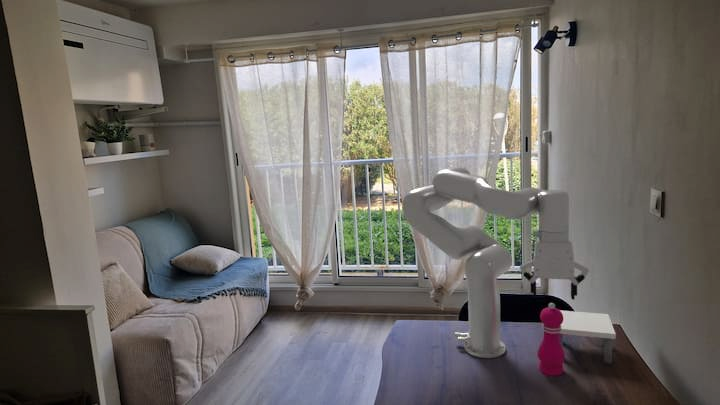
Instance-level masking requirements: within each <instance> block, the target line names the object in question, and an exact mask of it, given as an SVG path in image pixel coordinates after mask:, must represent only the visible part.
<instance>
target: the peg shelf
mask: <svg viewBox="0 0 720 405" xmlns="http://www.w3.org/2000/svg"><path fill="white" fill-rule="evenodd" d="M559 310H560V311H561V312H562V314H563V322H562V324H561V332H559V341H560V344H561V346H562V348H563V346H564V343H563V341H564V335H570V336H581V337H591V338H598V345H599V346H602V347H604V349H603V362H604V364H607V365H610V364H612V362H613V340H616V336H617V333H616V331H615V329H614V326H613V324H612V321H611V317H610V316H609V314H608V313H596V312H585V311H573V310H571V311H570V310H561V309H559ZM563 349H564V348H563Z"/></svg>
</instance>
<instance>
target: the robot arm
mask: <svg viewBox="0 0 720 405" xmlns="http://www.w3.org/2000/svg"><path fill="white" fill-rule="evenodd" d="M431 183H432V184H431V185H427V186H424V187H418V188H415V189H413V190H410V191H409V192H408V193H406V194H405V195H404V196H403V199H402V208H401V209H402V213H403V216H404V218H405V220H406V222H407V223H408V225H409V226H411V227H412V228H413V229H414V230H415V231H416V232H418V233H419V234H420V235H422V236H424V237H425V238H426V239H427V240H428V241H430V243H432V244H433V245H435V246H436V248H438V249H439V250H441V252H443V253H444V254H445V255H446V256H447V257H449V258H451V259H453V260H455V261H456V260H457V261H458V260H463V259H465V258H467V257H468V258H467V259H466V261H465V264H464V275H465V279H466V286H467V304H468V305H467V309H468V310H467V311H468V331H465V332H457V331H455V332H454V338H455V339H457V342H459V343H462V342H463V348H464V351H465V352H466V353H468V354H469V355H471V356H474V357H476V358H483V359H494V358H498V357H501V356H502V355H503V354H505V352H506V350H507V349H506V345H505V343H504V342H503V341H501V296H500V289H499V285H498V281H497V279H498V278H499V277H501V276H502V275H504V274H505V273H506V272H508V271H509V270H511V267H512V265H513V257H512V254H511V252H510V251H509V249H508V248H506V247H505V246H504V245H503V244H502V243H500V242H499V241H498V240H496V239H495V238H494V237H493V236H491V235H490V234H488V233H487V232H486V231H485V230H483V229H482V228H480V227H478V226H476V225H472V224H467V225H463V226H461V227H456V226H455V225H453V224H452V223H450V222H448V220H446V219H445V218H443V216H439V215H438V214H435V213H433V212H434V211H437V210H439V209H442V208H444V207H446V206H448V205H449V204H450V203H451V202H454V201H455V200H457V201H461V202H464V203H468V204H472V205H475V206H477V208H479V209H481V210H482V211H484V212H486V213H488V214H491V215H493V216H497V217H501V218H504V219H509V220H522V219H524V218H527V217H529V216H532V215H535V214H536V215H537V214H538V229H537V230H536V231H532V237H535V238H537V239H536V240H535V243H534V248H533V249H534V250H533V259H532V260H530V261H527V262H525V263H523V264H520V265H519V269H520V271H521V273H522V275H523V277H524V278H526V279H527V280H528V281H529V283H530V294H532V295H533V298H536V297H537V280H538V279H545V280H546V279H548V280H569V281H570V298H571V299H572V300H575V296H576V297H577V296H578V286H579V284H580V283H581V282H582V281H584V280H585V278H586V277H587V275H588V273H589V272H590V270H589V268H588V267H587V266H585V265H583V264H580V263H578V262H577V261H575V255H574V246H573V242H572V240H570V238H569V237H570V223H569V222H570V196H569V193H568V192H567V191H565V190H560V189H548V190H546V189H542V188H536V187H525V188H521V189H518V190H515V191H510V190H505V189H499V188H496V187H493V186H491V185H489V182H488V180H487V178H485V177H484V176H480V175H475V174H472V173H471V172H470V171H469V170H467V169H466V168H464V167H460V166H459V167H457V166H455V167H451V168H447V169H446V168H445V169H442V170H440V171H438V172H437V173H436V174H435V175H434V177H433V178H432V182H431ZM531 267H533V268H532V269H533V272H532V274H530V272H529V271H528V270H527V269H529V268H531ZM575 269H577V270H579V271H581V272H580V273H579V274H578V275H577V276H575Z"/></svg>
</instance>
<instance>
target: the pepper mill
mask: <svg viewBox="0 0 720 405" xmlns="http://www.w3.org/2000/svg"><path fill="white" fill-rule="evenodd" d="M560 310H561V309H558V308H556V304H555V303H553V302H550V303H548V306H547V307H545V308H543V309H542V310H541V312H540V314H539V318H540V322H542V324H541V329H542V331H543V337H542V341H541V343H540V345H539V347H538V350H537V353H536V354H537V359H538V360H539V362H538V369H539V371H540V372H541V373H543V374H545V375H547V376H556V377H557V376H560V375H562V374H563V373H564V365H563V363H564V362H565V361H566V360H565V359H566V353H565V351H564V348H562V346H561V344H560V341H559V332H561V324H562V322H563V314H562V312H561V311H560Z"/></svg>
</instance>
